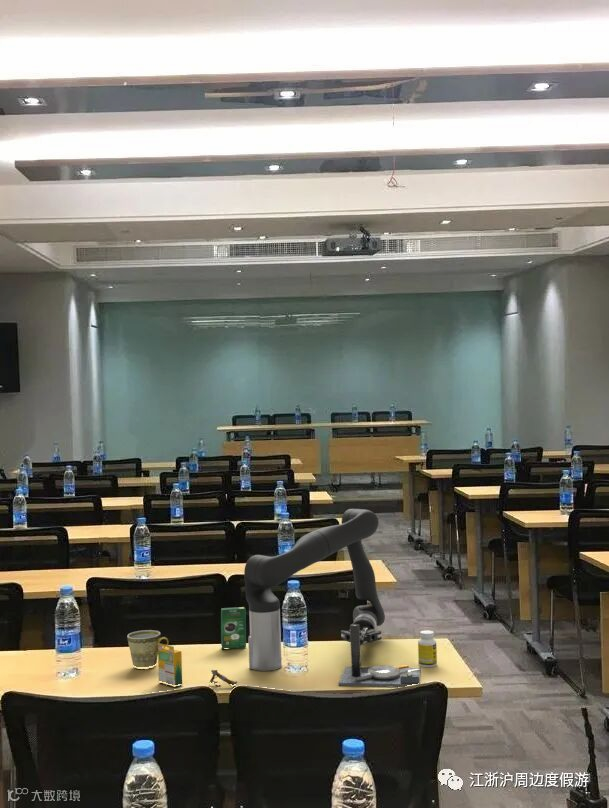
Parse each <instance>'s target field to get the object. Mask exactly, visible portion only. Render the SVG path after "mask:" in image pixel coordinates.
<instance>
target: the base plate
mask: <svg viewBox="0 0 609 808" xmlns="http://www.w3.org/2000/svg"><path fill="white" fill-rule="evenodd" d="M371 667H372V666H361V674H366V673H368V669H369V668H371ZM421 670H422V669H421V667H409V668H405V669H400V676H399V677H397V678H393V679H374V678H371V677H370V678H365V679H360V680H357V679H355V677H353V676H352V669H351V666H344V669H343V671H342V673H341V677H340V678H339V681H338V687H349V686H350V687H383V688H384V687H386V686H393V687H395V688H398V686H407V685H412V684H418V683H419V684H420V680H421ZM393 687H392V688H393Z"/></svg>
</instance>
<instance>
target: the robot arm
mask: <svg viewBox="0 0 609 808" xmlns="http://www.w3.org/2000/svg"><path fill="white" fill-rule="evenodd" d="M378 527H379V517H378V516H377V514H376V513H375V512H373V511H371V510H369V509H363V508H362V509H361V508H349V509H347V510H345V511H344V513H343V514H342V517H341V523H340V524H335V525H330V526H325V527H321V528H318V529H316V530H313V531H310V532H309V533H307V534H304V535H303V536H301V537H300V538H299V539H298V540H297V541H296V542H295V543H294V545H293V547H292V548H291V549H289V550H287V551H285V552H284V553H282V554H281V553H280V554H278V555H275V556H269V555H261V554H255V555H252V556H250V557H249V558H248V559H247V561H246V563H245V565H244V572H243V574H244V588H245V589H244V590H245V599H246V601H247V605H248V612H249V613H248V614H249V615H248V616H249V635H248V639H247V640H248V643H247V644H248V665H249V667H248V668H249V670H255V671H260V672H262V671H263V672H265V671H267V672H268V671H275V670H277V669H280V668H282V666H283V665H282V659H283V657H282V639H281V637H282V636H281V634H282V633H281V631H282V630H281V612H280V611H281V608H280V605H281V603H280V599H279V598H278V597H277V596H276V595H275V594H274V593H273V591H272V589H271V588H276V587H277V586H279V585H281V584H282V583H284V582H285V581H287V580H288V579H290V577H292V576H294V575H295V574H296V573H299V572H300V571H302V570H304V569H306V568H308V567H309V566H313V565H314V564H316V563H318V562H320V561H322V560H324V559H326V558H327V557H329V556H331V555H333V554H335V553H337V552H339V551H340V550H342V549H344V548H346V547H347V548H346V549H347V551H348V555H349V560H350V563H351V567H352V573H353V583H354V588H355V590H354V591H355V596H356V598H357V599H358V600H363V601H367V602H369V603H370V604H363V605H358V606H355V607H354V609H353V612H352V618H353V623H352V624H359V631H360V647H362V645H364V644H370V643H374V642H377V641H378V642H379V641H381V640H382V639H383V638H382V635H383V634H382V630H377V627H381V626H382V625H383V624H384V622H385V619H386V615H385V610H384V608H383V606H382V603H381V601H380V599H379V595H378V591H377V584H376V583H377V582H376V575H375V570H374V568H373V566H372V564H371V562H370V559H369V558H368V556H367V554H366V553H365V549H364V548H363V543H362V540H365V539H368V538H370V537H372V536H373V535H374V534H375V533H376V531H377V530H378ZM340 632H341V635H340V636H341V640H343V641H346V642H348V643H350V644H351V640H350V629H349V630H340Z"/></svg>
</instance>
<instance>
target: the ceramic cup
mask: <svg viewBox="0 0 609 808" xmlns="http://www.w3.org/2000/svg"><path fill="white" fill-rule="evenodd" d="M126 638H127V642H128V647H129V651H130V657H131V661H132V666H133V665H134V666H136V667H149V666H153V665H155V664H156V663H158V662H157V661H158V643H160V642H161V641H162V640H165V641H166V644H165V645H169V642H170V641H169V639H168V638H167V637H166V636H162V637H161V632H160V631H159V630H152V629H148V630H147V629H145V630H137V631H133V632H130V633H128V634H127V637H126ZM160 644H161V643H160ZM162 648H167V647H166V646H165V647H164V646H163V647H162Z"/></svg>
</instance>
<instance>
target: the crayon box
mask: <svg viewBox="0 0 609 808" xmlns="http://www.w3.org/2000/svg"><path fill="white" fill-rule="evenodd" d="M165 646H166V647H165ZM163 647H165V648H163ZM182 654H183V653H182V651H181V650H177V649H175V646H173V645H169V644H168V645H166V644H164V643H158V656H157V661H158V662H157V663H158V665H157V666H158V670H157V671H158V682H159V681H162V682H166V683H168V684H172V685H178V684H182V685H183V665H182V663H183V661H182V660H183V658H182V656H183V655H182Z"/></svg>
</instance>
